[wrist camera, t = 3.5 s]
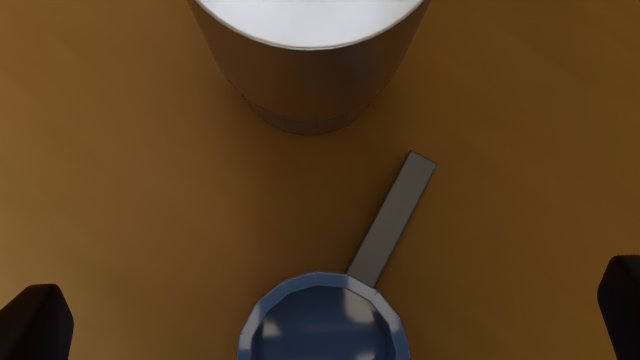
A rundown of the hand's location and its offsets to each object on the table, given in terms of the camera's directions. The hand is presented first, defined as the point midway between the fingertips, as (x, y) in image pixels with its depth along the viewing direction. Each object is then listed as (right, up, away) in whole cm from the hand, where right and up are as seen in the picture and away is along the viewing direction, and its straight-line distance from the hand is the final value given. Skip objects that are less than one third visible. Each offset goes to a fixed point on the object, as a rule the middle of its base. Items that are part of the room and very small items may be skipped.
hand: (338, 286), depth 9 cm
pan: (0, -5, +13) cm, 14 cm away
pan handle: (+2, 0, +14) cm, 14 cm away
